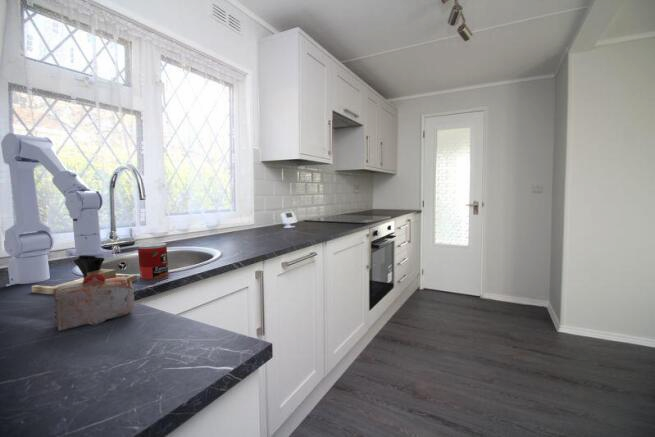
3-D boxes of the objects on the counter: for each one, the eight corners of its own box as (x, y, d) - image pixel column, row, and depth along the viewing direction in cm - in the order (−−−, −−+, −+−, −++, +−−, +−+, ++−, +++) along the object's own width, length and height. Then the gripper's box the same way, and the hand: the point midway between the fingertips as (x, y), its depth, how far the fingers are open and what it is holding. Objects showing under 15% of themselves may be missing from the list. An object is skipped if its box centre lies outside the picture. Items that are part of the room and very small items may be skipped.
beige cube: (88, 289, 86) (87, 272, 86) (104, 284, 90) (102, 268, 90) (101, 290, 85) (100, 273, 84) (116, 285, 89) (115, 269, 89)
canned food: (157, 283, 94) (154, 247, 93) (134, 282, 96) (131, 246, 95) (174, 276, 102) (172, 242, 101) (152, 275, 103) (150, 242, 102)
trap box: (32, 296, 85) (31, 286, 84) (88, 280, 99) (87, 271, 99) (86, 302, 79) (85, 291, 79) (137, 284, 94) (136, 275, 94)
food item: (130, 306, 76) (126, 266, 75) (137, 315, 70) (134, 272, 70) (55, 323, 67) (50, 277, 66) (56, 335, 61) (51, 286, 60)
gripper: (51, 235, 85) (57, 285, 87) (93, 237, 81) (98, 288, 83) (78, 232, 92) (83, 278, 93) (118, 233, 88) (122, 281, 89)
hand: (91, 282), depth 88 cm, fingers closed
